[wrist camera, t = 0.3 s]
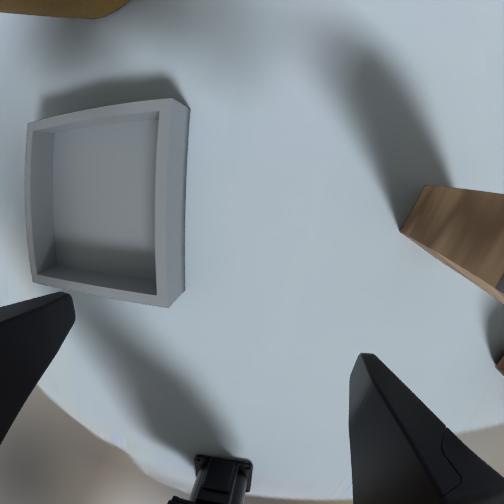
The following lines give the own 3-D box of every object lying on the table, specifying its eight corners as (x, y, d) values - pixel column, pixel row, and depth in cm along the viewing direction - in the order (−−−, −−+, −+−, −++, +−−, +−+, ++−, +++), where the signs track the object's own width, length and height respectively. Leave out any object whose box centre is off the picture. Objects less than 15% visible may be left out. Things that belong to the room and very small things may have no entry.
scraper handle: (436, 258, 20) (545, 337, 8) (399, 231, 20) (508, 297, 8) (461, 215, 19) (585, 257, 7) (425, 185, 19) (553, 202, 7)
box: (185, 290, 23) (168, 308, 20) (56, 270, 25) (32, 282, 21) (190, 109, 20) (172, 97, 17) (54, 126, 21) (28, 123, 18)
